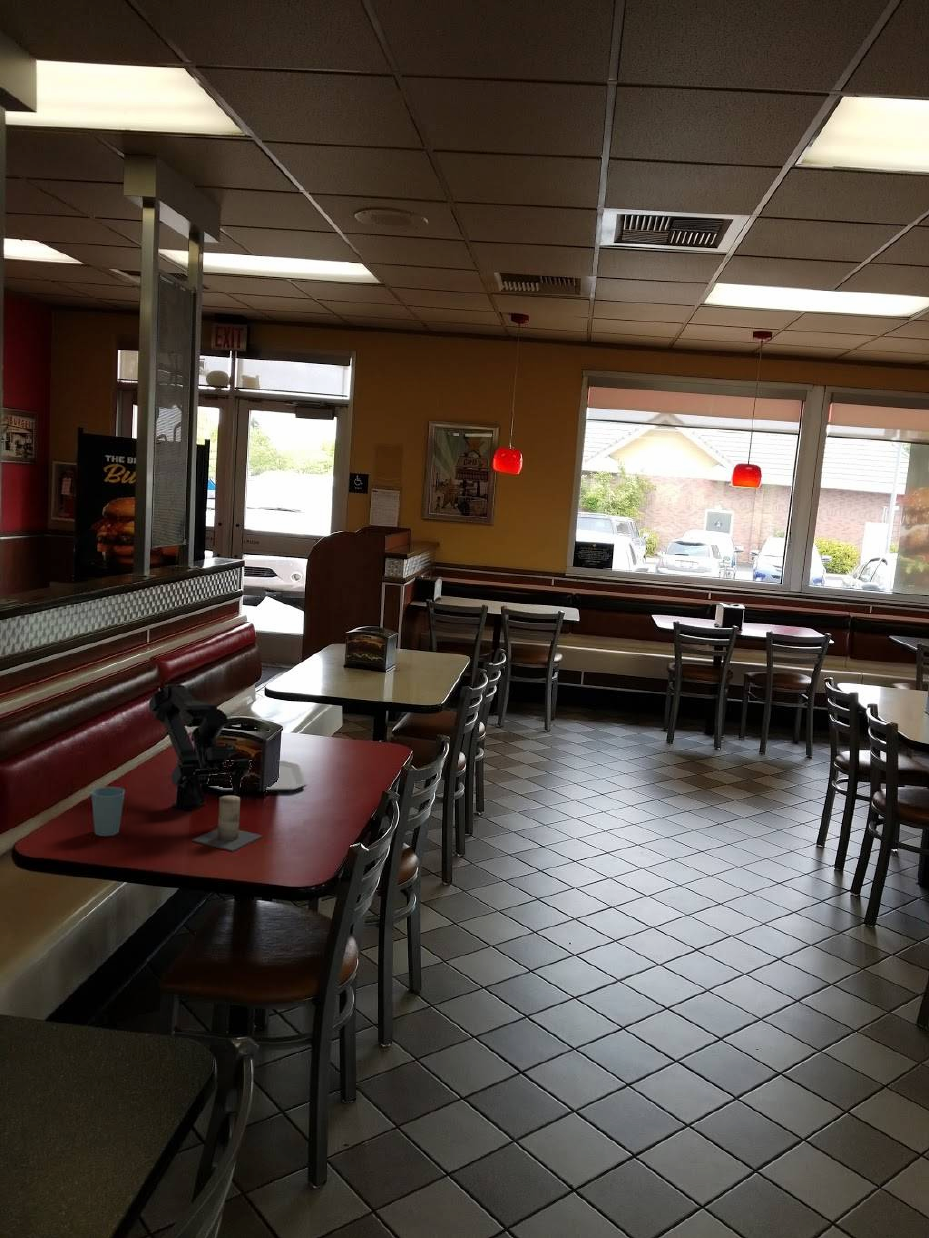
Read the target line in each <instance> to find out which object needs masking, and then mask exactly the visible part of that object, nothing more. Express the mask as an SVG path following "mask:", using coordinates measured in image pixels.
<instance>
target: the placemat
mask: <svg viewBox="0 0 929 1238" xmlns="http://www.w3.org/2000/svg"><path fill="white" fill-rule="evenodd" d="M217 837H218V828H216V829H213V830H211V831H209V832H207V833H205V834H202V835H199V836H197V837H195V838H193V839H192V842H193V843H194V842H195V843H197V844H201V845H202V844H203V845H206V846H210V847H213V848H217V849H222V850H225V851H229V852H232V853H233V852H236V851H237V850H239V849H241V848H243V847H245V846H248V845H250V844H252V843H253V842H255V841H257V840H259V839H261V838H263V835H261V834H258V833H254V832H248V831H245V830H241V829H239V831H238V839H236V840H234V841H222V840H219V839H218V838H217Z"/></svg>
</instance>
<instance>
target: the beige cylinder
mask: <svg viewBox="0 0 929 1238" xmlns="http://www.w3.org/2000/svg"><path fill="white" fill-rule="evenodd" d="M218 802H219V803H218V818H217V819H218V820H217V823H218V824H217V829H218V837H217V838H218V839H219V840H222V841H234V840H236V839H238V831H239V830H240V829H239V827H240V812H241V809H240V808H241V797H238V796H235V795H223V796H220V797H219V801H218Z"/></svg>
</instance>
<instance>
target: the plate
mask: <svg viewBox="0 0 929 1238" xmlns="http://www.w3.org/2000/svg"><path fill="white" fill-rule="evenodd" d="M279 761H280V773H279V778H278V780H277V782H275V783H274V784H273V785H272V786H271V787H267V788H266V791H267V792H266V793H288V792H293V791H296V790H298V789H301V788H305V787H306V786H307V781H306V778H305V776H304V773H303V771H302V768H301V766H300V764H298V763H294V762H291V761H287V760H279ZM208 788H210V789H212V788H213V790H216V791H219V790H220V791H219V792H224V793H227V792H232V791H233V788H223V787H219V786H209V787H208Z"/></svg>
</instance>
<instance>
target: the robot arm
mask: <svg viewBox="0 0 929 1238" xmlns="http://www.w3.org/2000/svg"><path fill="white" fill-rule="evenodd" d="M149 711H150V712H151V713H152V715H153V716H154V718H155V719H156V720H157V721H159V722H161V723H162V724H163V725H164V727H165V730H166V732H167V734H168V736H169V737H168V738H169V740H170V742H171V745H172V747H173V749H174V752H175V754H176V756H177V762H176V764H175V769H174V770H173V771H172V773H171V775H170V777H171V784H172V785H173V786H174V787H176V789H177V790H176V795H175V796H176V798H175V799H176V800H175V803H173V804H171V806H172V807H173V808H177V809H182V810H186V811H194V810H196V809H198V808H201V807H202V806H203V807H204V806H206V802H205V798H204V793H203V792H202V785H205V784H208V781H209V776H210V775H217V774H226V773H229V774H230V777H232V778H231V780H230V782H231V785H232V788H233V792H234V793H233V796H238V797H239V798H241V797H240V796H241V793H240V787H241V780H242V779H243V777H245V776H246V775H247V773H248V772H249V770H250V769H251V767H252V766H251V763H250V761H251V760H249V759H248V758H241V759H234V760H233V761H234V762H233V763H232V765H230V766H223V764H224V763H226V761H228V760H227V759H230V758H231V756H233V755H236V753H237V749H236V745H235V742H234V741H229V742H226V743H225V744H224V745H221V744H219V742H218V740H217V738H218V736H220V734H221V732H222V731H223V729H224V727H225V726H226V724H227V722H228V716H227V714H226V713H225V712H224V711H223V710H221V709H219V708H218V707H217V705H216V704H214V705H213V704H212V705H211V704H209V703H208V702H204V701H199V700H197V699H196V698H195V697H194V696H193V695H192V694H191V693H190V692H189V691H188V690H187V689H186V686H185V685H184V684H182V683H181V684H180V683H179V684H176V683H175V684H168V685H165V686H164V687H163V688H162V689H161V690H159V691H157V692H155V693H154V694H153V695H152V696H151V698H150V699H149ZM181 713H182V714H181ZM181 715H182V716H181ZM186 727H187V728H195V729H194V730H193V731H192V733H191V737H190V735H189V733H188V731H187V728H186ZM193 744H194V745H193Z"/></svg>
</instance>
